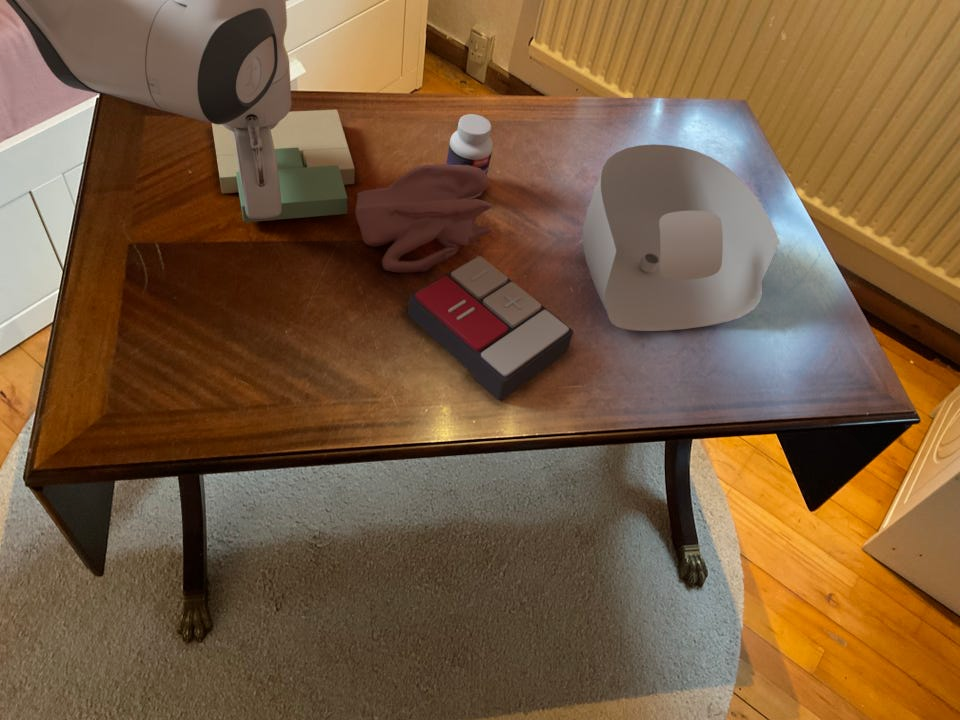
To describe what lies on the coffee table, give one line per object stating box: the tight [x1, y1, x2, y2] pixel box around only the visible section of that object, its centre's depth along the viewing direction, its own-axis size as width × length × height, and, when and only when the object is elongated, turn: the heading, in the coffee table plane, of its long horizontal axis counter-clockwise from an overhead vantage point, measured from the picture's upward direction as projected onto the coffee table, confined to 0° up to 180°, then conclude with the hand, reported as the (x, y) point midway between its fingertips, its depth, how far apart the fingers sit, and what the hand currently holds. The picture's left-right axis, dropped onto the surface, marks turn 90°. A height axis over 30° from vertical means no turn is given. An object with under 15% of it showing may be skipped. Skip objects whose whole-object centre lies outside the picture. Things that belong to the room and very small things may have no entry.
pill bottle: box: [445, 113, 494, 199], centre depth 93 cm, size 5×5×10 cm
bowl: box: [582, 143, 780, 332], centre depth 88 cm, size 20×19×12 cm
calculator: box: [407, 255, 574, 402], centre depth 81 cm, size 11×4×15 cm
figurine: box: [354, 163, 494, 274], centre depth 87 cm, size 12×10×15 cm
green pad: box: [236, 147, 349, 223], centre depth 89 cm, size 12×10×2 cm
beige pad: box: [211, 109, 356, 194], centre depth 94 cm, size 16×12×2 cm
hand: (257, 192), depth 86 cm, fingers closed on green pad, 6 cm apart
